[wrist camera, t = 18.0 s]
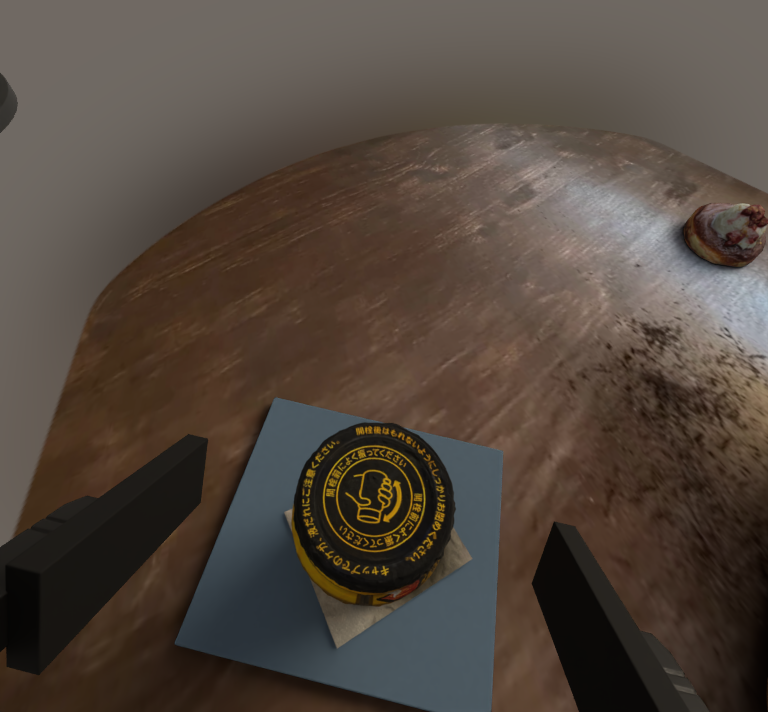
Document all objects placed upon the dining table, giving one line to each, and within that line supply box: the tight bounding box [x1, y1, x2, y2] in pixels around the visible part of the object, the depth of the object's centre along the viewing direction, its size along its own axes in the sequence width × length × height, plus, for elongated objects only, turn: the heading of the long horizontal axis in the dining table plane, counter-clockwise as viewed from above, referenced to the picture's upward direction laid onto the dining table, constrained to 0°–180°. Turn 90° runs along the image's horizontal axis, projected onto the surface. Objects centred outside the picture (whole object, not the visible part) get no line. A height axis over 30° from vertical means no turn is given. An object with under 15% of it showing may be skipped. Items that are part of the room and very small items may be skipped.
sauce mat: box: [175, 397, 503, 712], centre depth 23 cm, size 16×14×1 cm
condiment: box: [284, 422, 472, 648], centre depth 17 cm, size 7×8×12 cm
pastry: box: [683, 203, 768, 267], centre depth 39 cm, size 8×8×5 cm
